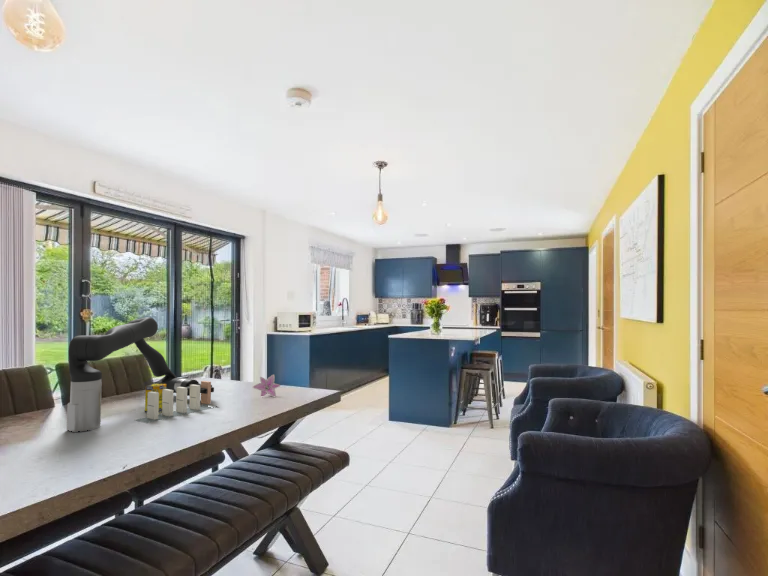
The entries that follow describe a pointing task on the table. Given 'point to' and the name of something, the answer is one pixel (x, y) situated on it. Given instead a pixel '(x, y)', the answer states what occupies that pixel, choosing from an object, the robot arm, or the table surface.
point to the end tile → (152, 405)
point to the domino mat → (161, 417)
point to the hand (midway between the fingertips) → (209, 390)
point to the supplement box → (155, 388)
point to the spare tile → (207, 397)
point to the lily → (267, 386)
